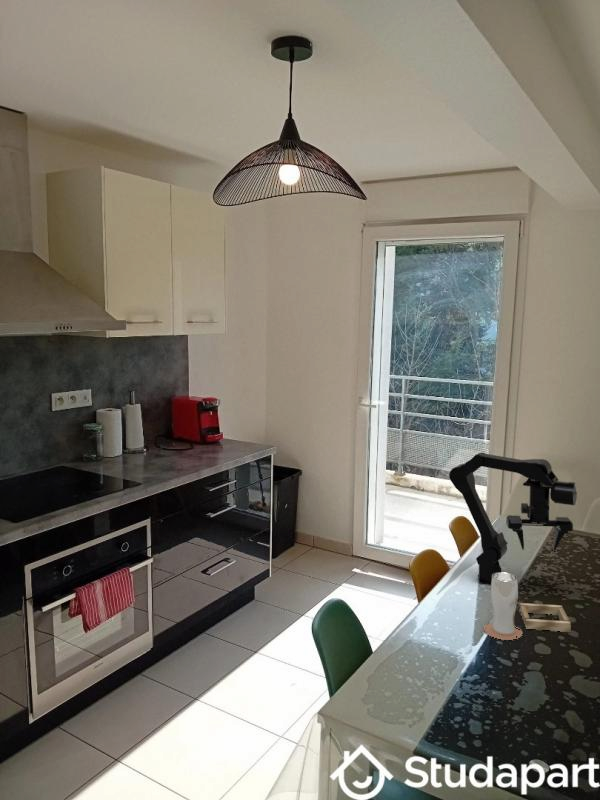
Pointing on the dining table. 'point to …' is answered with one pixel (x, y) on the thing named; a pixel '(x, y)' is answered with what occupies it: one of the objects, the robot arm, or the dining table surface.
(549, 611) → the pocket frame
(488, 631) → the mat
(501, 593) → the beer glass
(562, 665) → the dining table surface
